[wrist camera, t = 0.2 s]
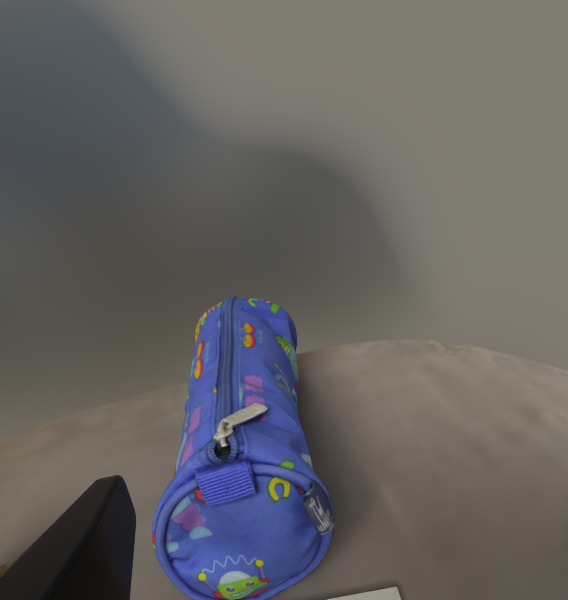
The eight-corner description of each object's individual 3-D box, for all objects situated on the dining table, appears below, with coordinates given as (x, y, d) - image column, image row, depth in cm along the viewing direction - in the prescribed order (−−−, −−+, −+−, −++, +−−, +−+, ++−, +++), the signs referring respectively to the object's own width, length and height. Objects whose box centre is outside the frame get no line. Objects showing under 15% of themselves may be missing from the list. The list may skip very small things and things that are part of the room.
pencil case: (347, 618, 22) (331, 461, 18) (166, 645, 22) (112, 491, 18) (300, 372, 42) (288, 273, 38) (207, 385, 42) (185, 287, 38)
